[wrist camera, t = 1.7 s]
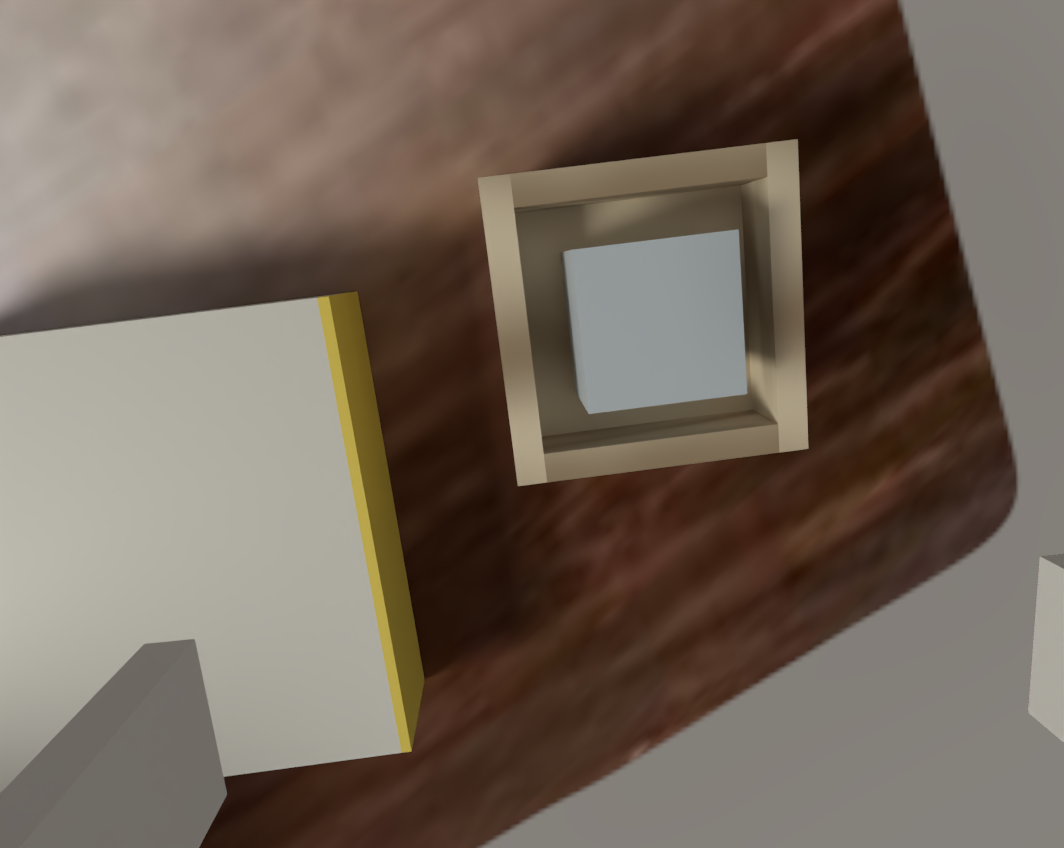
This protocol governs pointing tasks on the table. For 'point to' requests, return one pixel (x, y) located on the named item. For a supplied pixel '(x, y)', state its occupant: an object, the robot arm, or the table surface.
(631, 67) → the table surface
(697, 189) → the wooden crate with cube
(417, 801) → the table surface
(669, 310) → the cargo block
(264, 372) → the dock
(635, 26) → the table surface
